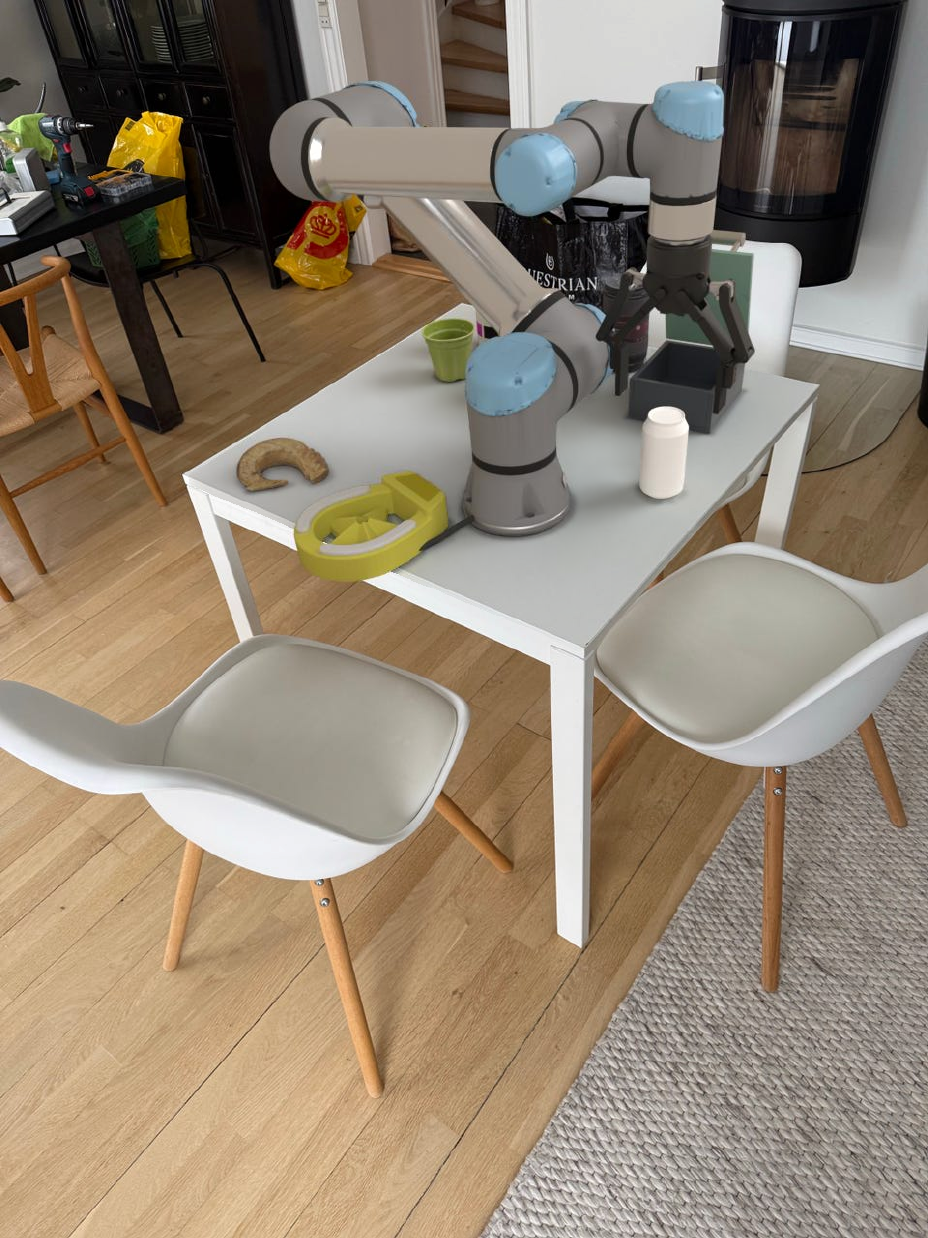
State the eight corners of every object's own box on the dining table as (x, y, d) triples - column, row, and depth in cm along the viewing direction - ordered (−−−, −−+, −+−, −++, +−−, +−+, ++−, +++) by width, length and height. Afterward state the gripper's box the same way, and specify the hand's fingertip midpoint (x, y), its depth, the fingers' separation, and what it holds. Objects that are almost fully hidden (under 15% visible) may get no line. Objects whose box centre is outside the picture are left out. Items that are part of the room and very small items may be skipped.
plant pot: (469, 388, 158) (465, 341, 153) (419, 384, 161) (413, 338, 156) (485, 365, 165) (482, 319, 159) (437, 362, 168) (432, 316, 162)
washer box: (709, 433, 140) (714, 393, 136) (628, 417, 146) (629, 378, 142) (741, 390, 150) (746, 352, 146) (663, 377, 156) (666, 339, 151)
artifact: (242, 435, 144) (334, 431, 142) (248, 451, 147) (338, 447, 145) (226, 484, 137) (323, 480, 135) (233, 500, 139) (328, 497, 138)
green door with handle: (752, 255, 132) (771, 224, 137) (664, 246, 138) (685, 216, 143) (746, 350, 145) (764, 319, 149) (665, 338, 151) (685, 308, 155)
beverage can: (675, 506, 126) (681, 429, 118) (632, 497, 128) (636, 421, 121) (688, 483, 130) (696, 408, 122) (647, 475, 132) (651, 400, 125)
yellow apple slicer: (465, 535, 124) (462, 504, 121) (335, 597, 116) (328, 566, 112) (402, 489, 135) (397, 459, 132) (278, 543, 126) (270, 513, 123)
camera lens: (656, 367, 159) (661, 282, 149) (615, 378, 157) (618, 293, 147) (633, 351, 165) (636, 268, 155) (593, 361, 163) (595, 278, 153)
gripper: (796, 234, 103) (771, 403, 117) (596, 216, 114) (594, 373, 128) (777, 255, 98) (753, 430, 112) (570, 235, 109) (571, 396, 123)
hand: (668, 400), depth 120 cm, fingers open, 13 cm apart
